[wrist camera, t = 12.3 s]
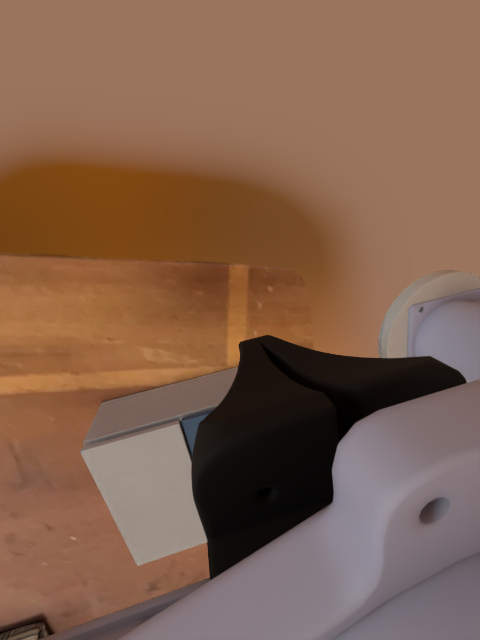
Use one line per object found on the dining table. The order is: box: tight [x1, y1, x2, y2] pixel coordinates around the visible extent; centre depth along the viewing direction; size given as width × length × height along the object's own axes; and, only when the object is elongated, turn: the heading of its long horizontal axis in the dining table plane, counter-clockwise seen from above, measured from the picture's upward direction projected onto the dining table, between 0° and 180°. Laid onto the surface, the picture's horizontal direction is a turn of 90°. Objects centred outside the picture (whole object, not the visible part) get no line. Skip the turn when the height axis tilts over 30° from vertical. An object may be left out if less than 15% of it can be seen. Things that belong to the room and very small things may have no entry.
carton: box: [80, 367, 238, 566], centre depth 22 cm, size 13×12×5 cm
